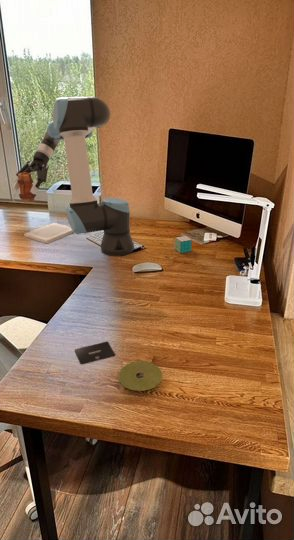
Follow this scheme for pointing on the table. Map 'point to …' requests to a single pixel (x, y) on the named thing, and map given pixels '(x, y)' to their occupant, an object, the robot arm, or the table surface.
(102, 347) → the solid state drive
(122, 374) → the olive green disc
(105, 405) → the table surface
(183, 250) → the puzzle toy
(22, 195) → the orange brown figurine
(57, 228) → the cream rectangular slab
